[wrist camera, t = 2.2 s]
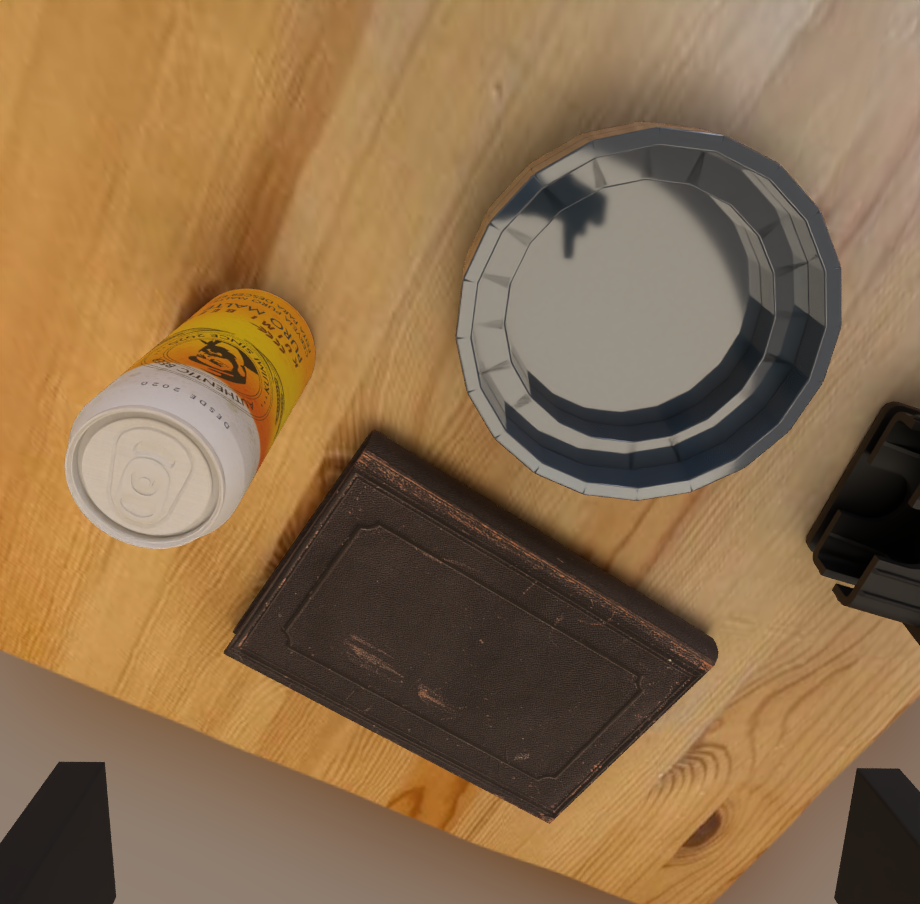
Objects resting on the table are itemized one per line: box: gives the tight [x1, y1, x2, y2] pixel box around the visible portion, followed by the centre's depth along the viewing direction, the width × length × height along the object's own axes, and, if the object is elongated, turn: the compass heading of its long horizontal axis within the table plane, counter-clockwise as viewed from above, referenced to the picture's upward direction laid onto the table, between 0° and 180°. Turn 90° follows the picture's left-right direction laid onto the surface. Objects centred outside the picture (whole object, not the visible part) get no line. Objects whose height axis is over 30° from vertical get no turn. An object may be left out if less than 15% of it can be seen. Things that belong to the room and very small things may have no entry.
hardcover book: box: [223, 430, 718, 824], centre depth 47 cm, size 16×23×2 cm
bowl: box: [456, 121, 841, 501], centre depth 37 cm, size 16×16×4 cm
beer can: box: [65, 289, 315, 549], centre depth 34 cm, size 6×6×15 cm
